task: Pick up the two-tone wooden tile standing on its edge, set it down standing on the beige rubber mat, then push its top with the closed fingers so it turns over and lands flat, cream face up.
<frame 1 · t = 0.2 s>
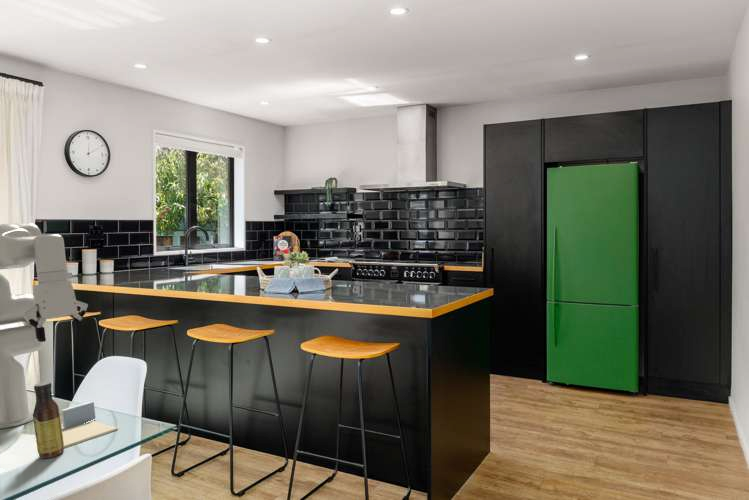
hand: (59, 337, 161), 31 cm above the table, tool pointing down, fingers open, 9 cm apart
mat: (78, 434, 170), on the table
tile: (79, 424, 180), on the table
sauce bottle: (51, 455, 154), on the table
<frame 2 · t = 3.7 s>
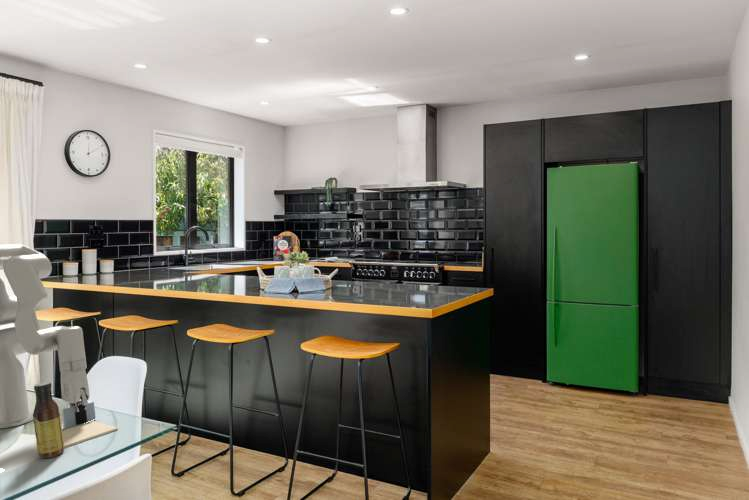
hand: (79, 422, 180), 1 cm above the table, tool pointing down, fingers closed on tile, 2 cm apart
tile: (79, 424, 180), on the table, touching gripper
everything else where it was.
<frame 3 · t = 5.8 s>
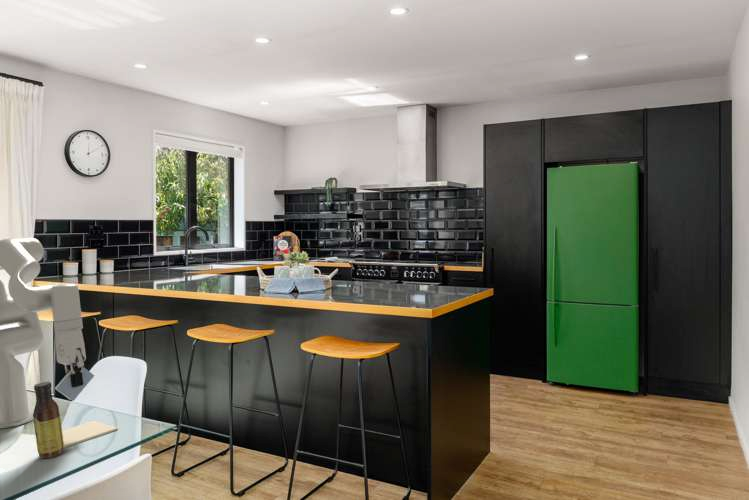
hand: (75, 385, 171), 15 cm above the table, tool pointing down, fingers closed on tile
tile: (82, 387, 172), point 13 cm above the table, tilted 40°, touching gripper
everything else where it was.
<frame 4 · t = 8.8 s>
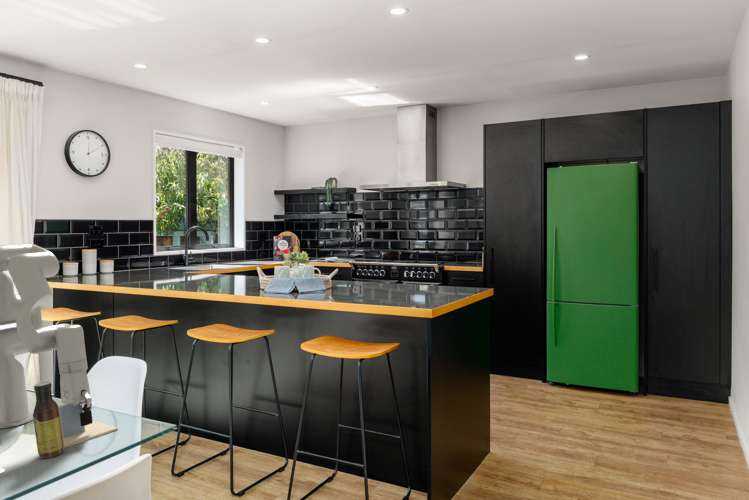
hand: (79, 422, 171), 3 cm above the table, tool pointing down, fingers open, 9 cm apart
tile: (81, 416, 171), point 5 cm above the table, tilted 90°, touching mat
everything else where it was.
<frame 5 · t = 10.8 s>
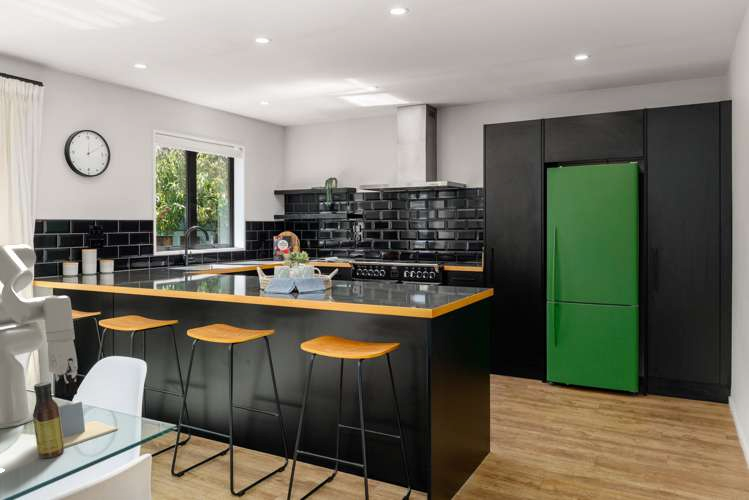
hand: (67, 393, 175), 11 cm above the table, tool pointing down, fingers open, 5 cm apart
nothing on the table moved.
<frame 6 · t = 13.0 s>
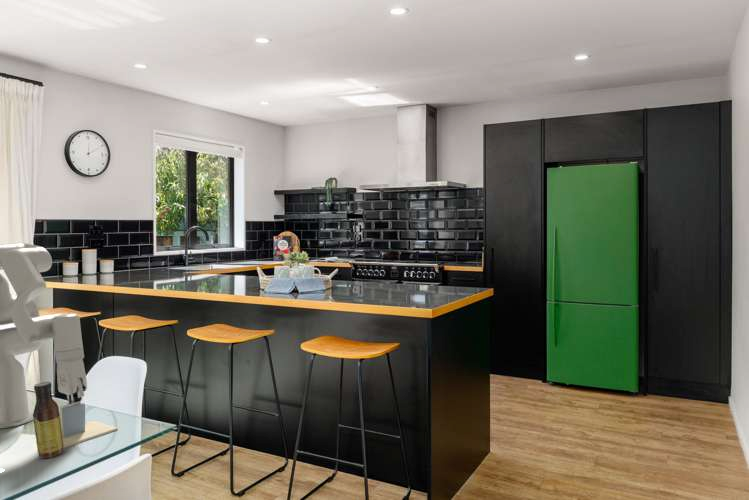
hand: (76, 414, 172), 5 cm above the table, tool pointing down, fingers closed
tile: (83, 415, 171), point 5 cm above the table, tilted 90°, touching gripper, mat
everything else where it was.
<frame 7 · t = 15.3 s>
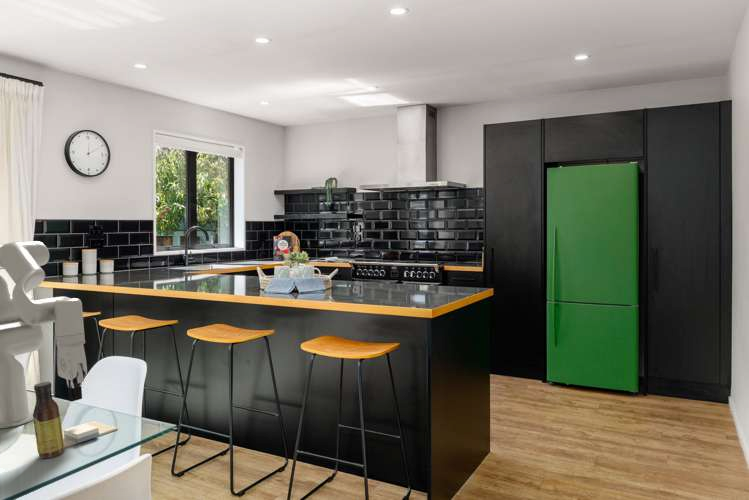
hand: (75, 399, 171), 10 cm above the table, tool pointing down, fingers closed
tile: (91, 429, 168), point 2 cm above the table, tilted 90°, touching mat
everything else where it was.
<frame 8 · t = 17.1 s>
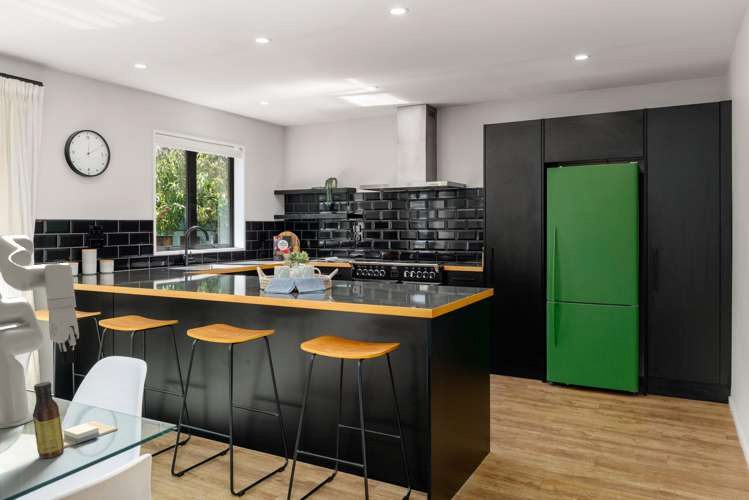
hand: (68, 363, 172), 21 cm above the table, tool pointing down, fingers closed
nothing on the table moved.
at the end: tile tilted 90°; tile inside the target area on the mat (5.5 cm from its centre), point 1.8 cm above the mat's base; the gripper is holding nothing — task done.
